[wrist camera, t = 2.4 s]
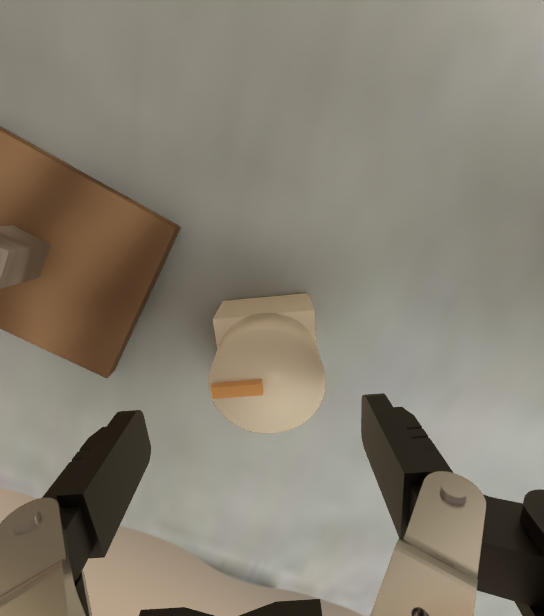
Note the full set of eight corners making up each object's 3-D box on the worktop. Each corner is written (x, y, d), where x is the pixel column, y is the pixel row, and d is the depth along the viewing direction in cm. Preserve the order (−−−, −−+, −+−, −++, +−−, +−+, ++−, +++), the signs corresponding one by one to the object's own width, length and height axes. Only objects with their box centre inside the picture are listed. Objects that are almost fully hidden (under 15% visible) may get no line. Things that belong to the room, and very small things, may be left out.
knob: (309, 291, 20) (324, 328, 14) (314, 370, 22) (329, 434, 16) (221, 299, 20) (197, 339, 14) (233, 377, 22) (216, 443, 16)
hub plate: (180, 227, 19) (156, 231, 15) (114, 370, 22) (80, 405, 18) (-59, 94, 17) (-156, 61, 13) (-97, 271, 20) (-185, 286, 16)
